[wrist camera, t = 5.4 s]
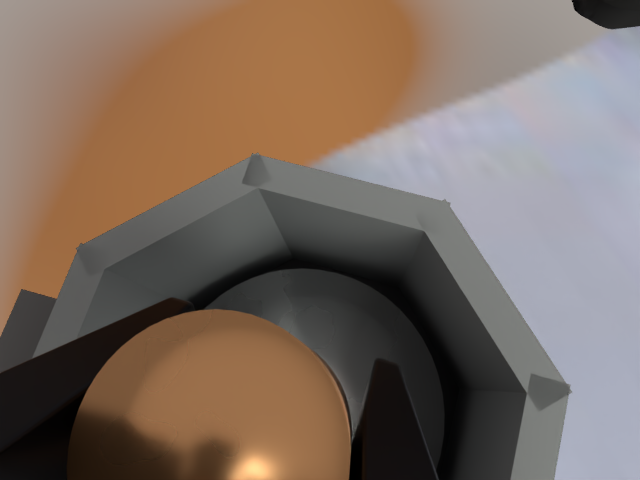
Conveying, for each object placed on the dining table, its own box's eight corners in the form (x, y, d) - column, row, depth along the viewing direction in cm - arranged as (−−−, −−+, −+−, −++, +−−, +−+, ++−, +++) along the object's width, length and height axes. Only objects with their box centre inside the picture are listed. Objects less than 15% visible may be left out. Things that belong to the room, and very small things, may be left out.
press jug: (431, 644, 16) (498, 876, 9) (64, 509, 18) (-152, 603, 10) (505, 293, 19) (606, 233, 11) (179, 205, 21) (76, 101, 13)
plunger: (402, 608, 14) (510, 1139, 4) (124, 508, 15) (-306, 741, 5) (468, 313, 16) (649, 202, 6) (217, 243, 17) (30, 55, 7)
